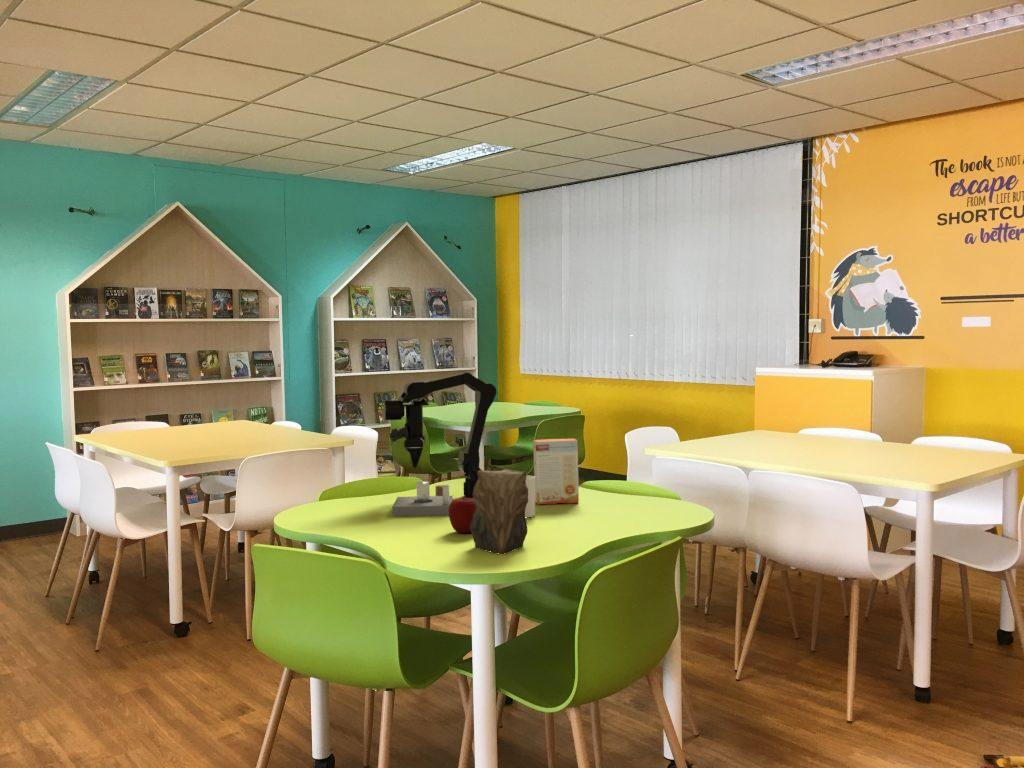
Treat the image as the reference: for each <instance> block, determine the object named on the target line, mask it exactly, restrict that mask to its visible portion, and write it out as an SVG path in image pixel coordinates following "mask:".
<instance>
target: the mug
mask: <svg viewBox="0 0 1024 768" xmlns="http://www.w3.org/2000/svg"><path fill="white" fill-rule="evenodd" d="M525 482H526V486H527V488H528V503H527V505H526V509H525V517H531V518H534V517H535V515H536V513H535V512H536V502H535V476H534V475H527V474H526V481H525ZM533 516H534V517H533Z"/></svg>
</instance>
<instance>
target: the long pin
mask: <svg viewBox="0 0 1024 768" xmlns="http://www.w3.org/2000/svg"><path fill="white" fill-rule="evenodd" d="M416 496H417V503H429V502H430V499H429V496H430V482H429V481H426V480H425V481H424V480H423V481H417V482H416Z"/></svg>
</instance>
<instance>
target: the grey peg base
mask: <svg viewBox="0 0 1024 768" xmlns="http://www.w3.org/2000/svg"><path fill="white" fill-rule="evenodd" d="M442 485H443V496H436V495H429V499H430V502H429V503H417V495H416V496H397V497H396V499H395V501H394V503H393V504H392V509H391V510H392V511H391V512H392V514H391V515H392V517H425V516H424V515H427V516H429V517H431V516H430V515H436V516H449V505H450V503H451V502H452V501H453V500H454V498H453V497H454V495H450V485H449V484H442Z"/></svg>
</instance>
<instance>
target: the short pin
mask: <svg viewBox="0 0 1024 768" xmlns="http://www.w3.org/2000/svg"><path fill="white" fill-rule="evenodd" d="M443 485H444V484H440V485H439V484H438V485H436V486H435V488H434V489H435V491H434V492H435V496H443Z"/></svg>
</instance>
